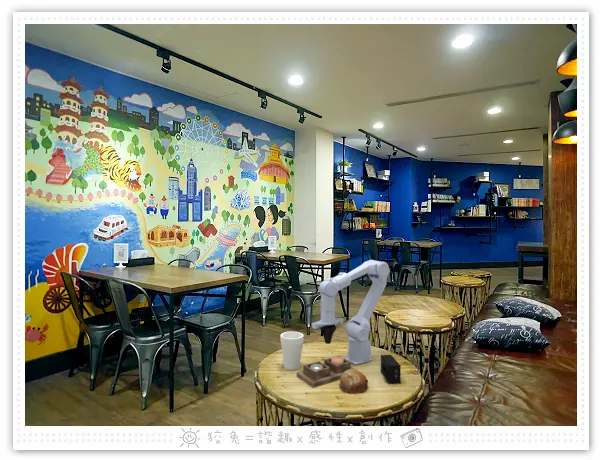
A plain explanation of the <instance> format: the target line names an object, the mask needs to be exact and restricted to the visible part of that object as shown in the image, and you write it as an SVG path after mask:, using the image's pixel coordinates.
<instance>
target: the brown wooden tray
mask: <svg viewBox="0 0 600 460" xmlns="http://www.w3.org/2000/svg"><path fill="white" fill-rule="evenodd" d="M335 357H341V356H340V355H337V356H335ZM331 358H332V357H330V358H326V359H323V360H324V361H323V362H321V361H319V360H318V361H314V362H310V363H306V364H303V366H302V370H300V371H297V372H296V377H297V378H299V379H300V380H301V381H302V382H304V383H305V384H307V385H308V386H310V387H311V388H312V389H313V388H317V387H319V386H323V385H327V384H330V383H333V382H335V381H340V379H341V375H342V374H343V373H344V372H345V371H346V370H349V369H352V370H356V371H358V369H355V368H354V367H352V364H351V362H350V361H348V360H346V359H344V357H342V358H343V359H344V360H343V363H342V364H338V365H335V364H333V363H332V362H331ZM312 364H321V365H322V366H323V369H320V370H317V371H314V370H312V369H311V368H310V366H311V365H312Z"/></svg>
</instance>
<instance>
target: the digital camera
mask: <svg viewBox="0 0 600 460" xmlns="http://www.w3.org/2000/svg"><path fill="white" fill-rule="evenodd" d="M401 367H402V366H401V364H400V363H399V362H398V361H397V360H396V358H395V357H394V356H393V355H392V354H380V373H381V374H382V376H383V378H384V380H386V382H387V383H388V384H389V385H400V384H401V374H402V373H401Z"/></svg>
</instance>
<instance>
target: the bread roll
mask: <svg viewBox="0 0 600 460" xmlns="http://www.w3.org/2000/svg"><path fill="white" fill-rule="evenodd" d="M356 370H357V369H356ZM356 370H352V369H349V370H346V371H345V372H344V373H343V374H342V375H341V379H340V380H339V383H338V386H339V387H340V389H341V390H342V391H343V392H345V393H347V394H359V393H360V394H361V393H363V392H366V390H367V389H368V386H369V385H368V383H369V379H367V377H366V375H365V374H364V373H363V372H360V371H358V370H357V371H356Z"/></svg>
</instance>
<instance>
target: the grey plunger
mask: <svg viewBox="0 0 600 460" xmlns="http://www.w3.org/2000/svg"><path fill="white" fill-rule="evenodd" d="M310 368H311V369H312V370H314V371H317V370H320V369H323V366H322V365H321V364H312V365H311V366H310Z"/></svg>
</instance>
